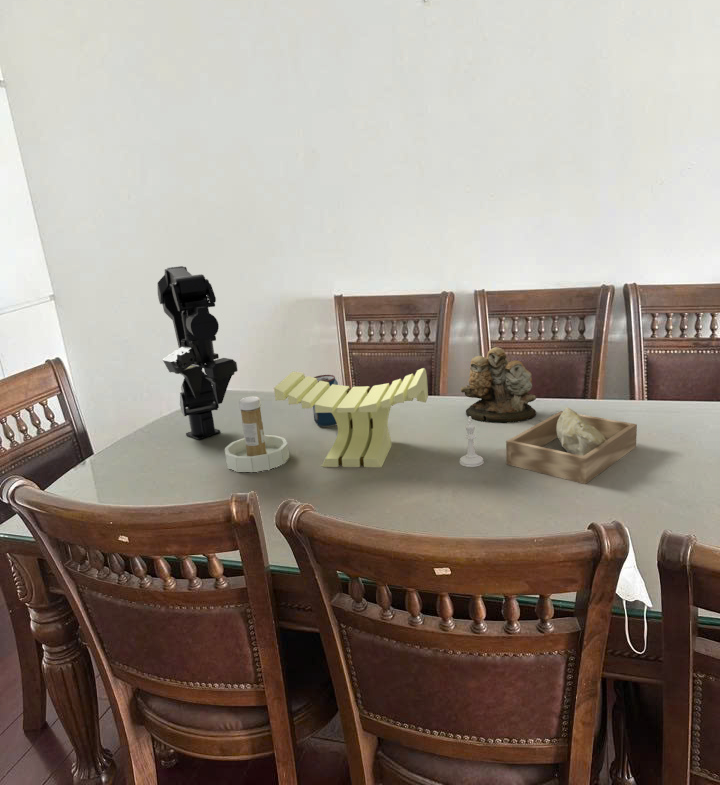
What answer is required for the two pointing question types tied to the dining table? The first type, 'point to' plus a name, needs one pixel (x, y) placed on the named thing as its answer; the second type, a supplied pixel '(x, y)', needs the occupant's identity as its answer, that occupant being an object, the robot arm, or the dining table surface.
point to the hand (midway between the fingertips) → (208, 400)
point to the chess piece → (471, 448)
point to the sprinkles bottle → (252, 426)
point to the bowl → (244, 463)
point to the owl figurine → (499, 389)
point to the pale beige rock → (577, 433)
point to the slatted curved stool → (354, 413)
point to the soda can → (325, 418)
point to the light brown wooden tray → (565, 465)
